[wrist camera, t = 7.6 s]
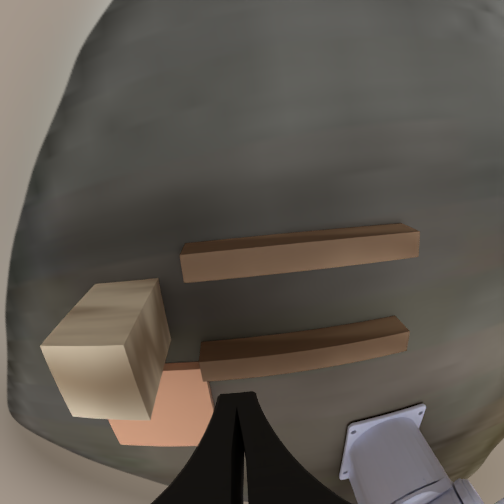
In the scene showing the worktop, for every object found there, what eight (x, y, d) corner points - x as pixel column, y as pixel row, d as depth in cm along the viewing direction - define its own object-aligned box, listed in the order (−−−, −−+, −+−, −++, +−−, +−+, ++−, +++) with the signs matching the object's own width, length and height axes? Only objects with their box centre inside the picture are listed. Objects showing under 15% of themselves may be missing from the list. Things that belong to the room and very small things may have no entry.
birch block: (171, 338, 21) (150, 420, 14) (112, 341, 21) (73, 416, 13) (158, 277, 20) (123, 345, 12) (95, 283, 20) (40, 345, 12)
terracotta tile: (221, 436, 24) (221, 444, 23) (122, 436, 24) (120, 444, 23) (205, 360, 22) (204, 368, 21) (91, 363, 22) (86, 371, 21)
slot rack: (392, 333, 23) (406, 350, 20) (204, 359, 22) (202, 381, 20) (400, 222, 20) (419, 231, 18) (185, 243, 19) (179, 255, 17)
